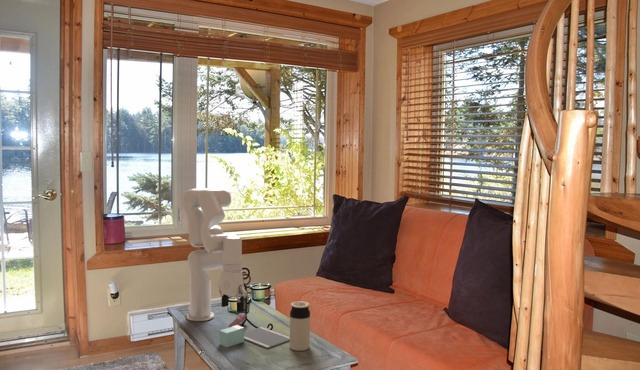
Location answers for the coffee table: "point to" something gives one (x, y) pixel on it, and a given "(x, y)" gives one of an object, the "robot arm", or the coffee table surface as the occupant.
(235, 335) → the card deck block
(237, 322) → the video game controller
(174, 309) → the coffee table surface
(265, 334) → the mat
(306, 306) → the travel mug
